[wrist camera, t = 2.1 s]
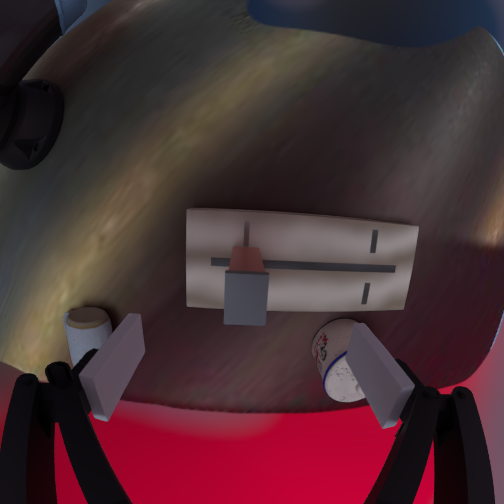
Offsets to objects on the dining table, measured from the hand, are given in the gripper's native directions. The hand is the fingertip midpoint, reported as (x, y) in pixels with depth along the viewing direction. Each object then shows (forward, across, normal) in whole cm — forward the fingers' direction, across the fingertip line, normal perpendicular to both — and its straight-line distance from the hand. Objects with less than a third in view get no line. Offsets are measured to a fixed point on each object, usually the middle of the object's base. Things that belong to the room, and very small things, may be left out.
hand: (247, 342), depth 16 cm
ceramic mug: (+20, -24, -13) cm, 34 cm away
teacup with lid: (+21, +15, -14) cm, 29 cm away
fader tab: (+17, 0, 0) cm, 17 cm away
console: (+20, +8, 0) cm, 22 cm away
